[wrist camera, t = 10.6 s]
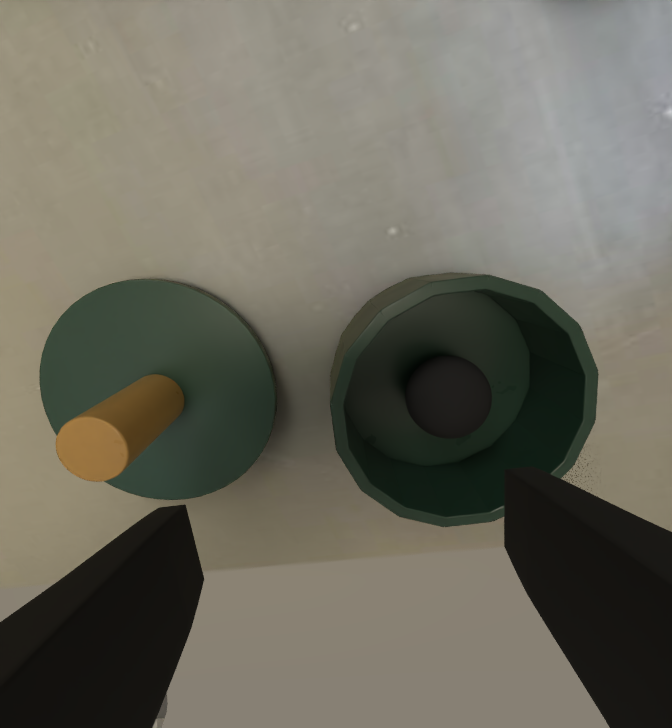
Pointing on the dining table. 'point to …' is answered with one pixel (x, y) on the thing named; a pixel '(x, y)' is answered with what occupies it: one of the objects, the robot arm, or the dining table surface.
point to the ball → (448, 397)
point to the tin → (503, 371)
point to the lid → (157, 390)
